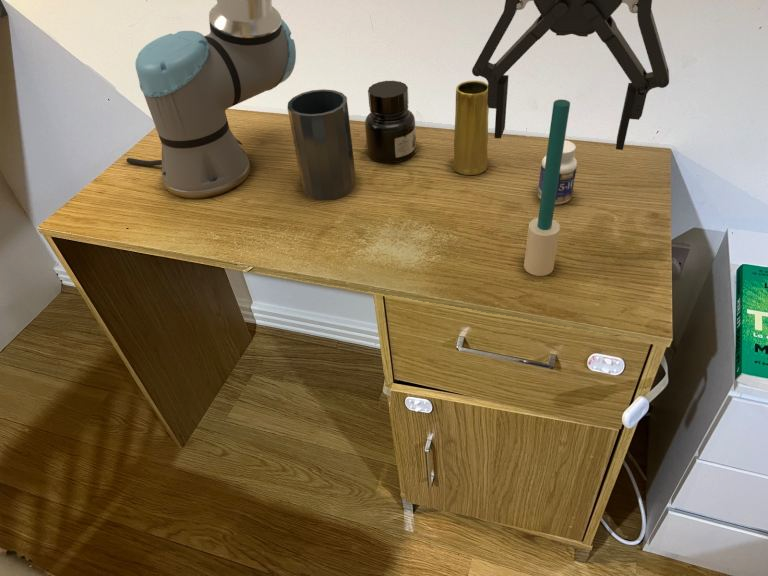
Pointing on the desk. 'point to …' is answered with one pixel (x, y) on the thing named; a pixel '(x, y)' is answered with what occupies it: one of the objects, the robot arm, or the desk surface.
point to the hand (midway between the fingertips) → (558, 138)
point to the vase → (471, 128)
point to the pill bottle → (563, 174)
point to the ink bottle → (390, 123)
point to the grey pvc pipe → (323, 143)
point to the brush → (548, 200)
